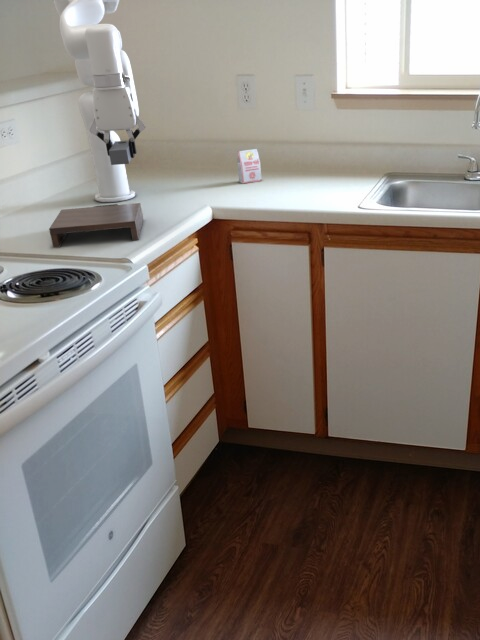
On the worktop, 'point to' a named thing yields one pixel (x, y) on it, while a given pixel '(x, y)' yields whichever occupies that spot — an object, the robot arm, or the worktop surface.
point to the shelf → (97, 220)
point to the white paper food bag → (249, 166)
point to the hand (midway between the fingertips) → (122, 157)
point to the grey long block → (120, 153)
